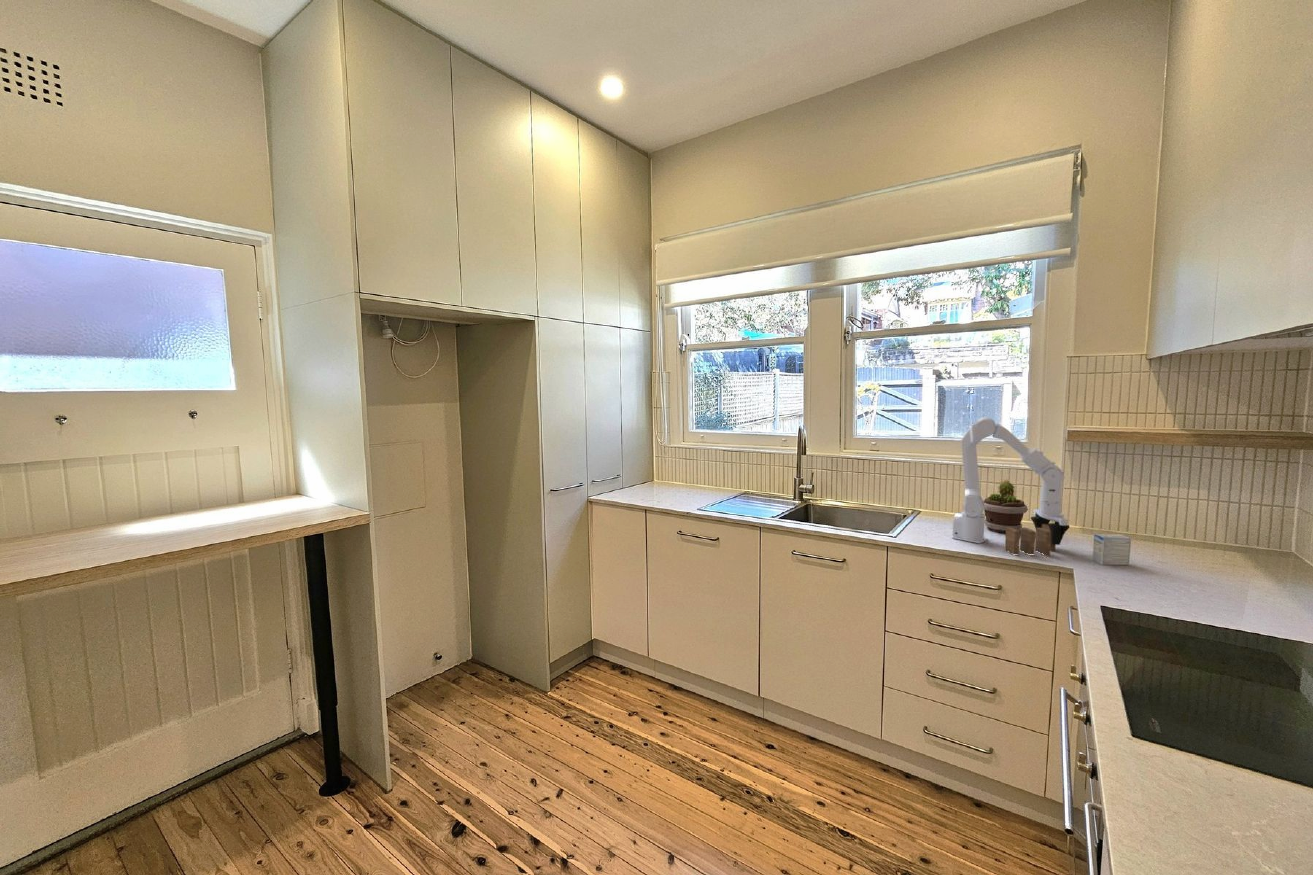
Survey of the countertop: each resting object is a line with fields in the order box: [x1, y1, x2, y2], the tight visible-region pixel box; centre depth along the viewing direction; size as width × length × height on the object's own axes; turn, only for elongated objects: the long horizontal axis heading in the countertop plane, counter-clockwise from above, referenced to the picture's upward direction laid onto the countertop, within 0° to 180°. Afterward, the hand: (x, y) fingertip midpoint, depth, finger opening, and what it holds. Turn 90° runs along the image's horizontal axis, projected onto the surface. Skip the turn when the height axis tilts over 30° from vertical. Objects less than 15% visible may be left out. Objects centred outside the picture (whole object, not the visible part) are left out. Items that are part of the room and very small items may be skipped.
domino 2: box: [1019, 527, 1036, 555], centre depth 176 cm, size 2×5×8 cm, turn 175°
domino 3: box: [1034, 528, 1051, 556], centre depth 176 cm, size 2×5×8 cm, turn 175°
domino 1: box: [1004, 527, 1021, 555], centre depth 177 cm, size 2×5×8 cm, turn 175°
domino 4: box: [1042, 524, 1057, 552], centre depth 180 cm, size 2×5×8 cm, turn 175°
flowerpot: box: [983, 477, 1029, 534], centre depth 203 cm, size 14×15×20 cm
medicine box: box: [1092, 533, 1132, 566], centre depth 166 cm, size 8×4×9 cm, turn 84°
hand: (1048, 541), depth 180 cm, fingers open, 7 cm apart
